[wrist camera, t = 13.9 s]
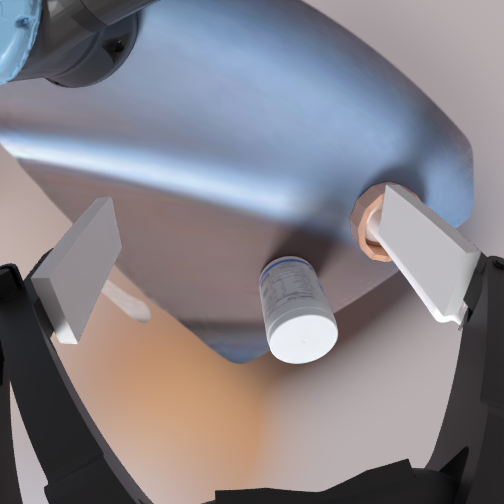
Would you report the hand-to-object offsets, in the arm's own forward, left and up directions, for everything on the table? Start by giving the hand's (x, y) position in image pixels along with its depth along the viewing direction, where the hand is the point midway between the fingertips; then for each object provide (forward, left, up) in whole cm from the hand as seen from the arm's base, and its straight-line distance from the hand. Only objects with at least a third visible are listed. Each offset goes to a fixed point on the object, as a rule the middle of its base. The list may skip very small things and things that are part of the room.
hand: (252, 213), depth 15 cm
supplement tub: (+26, +1, -30) cm, 40 cm away
